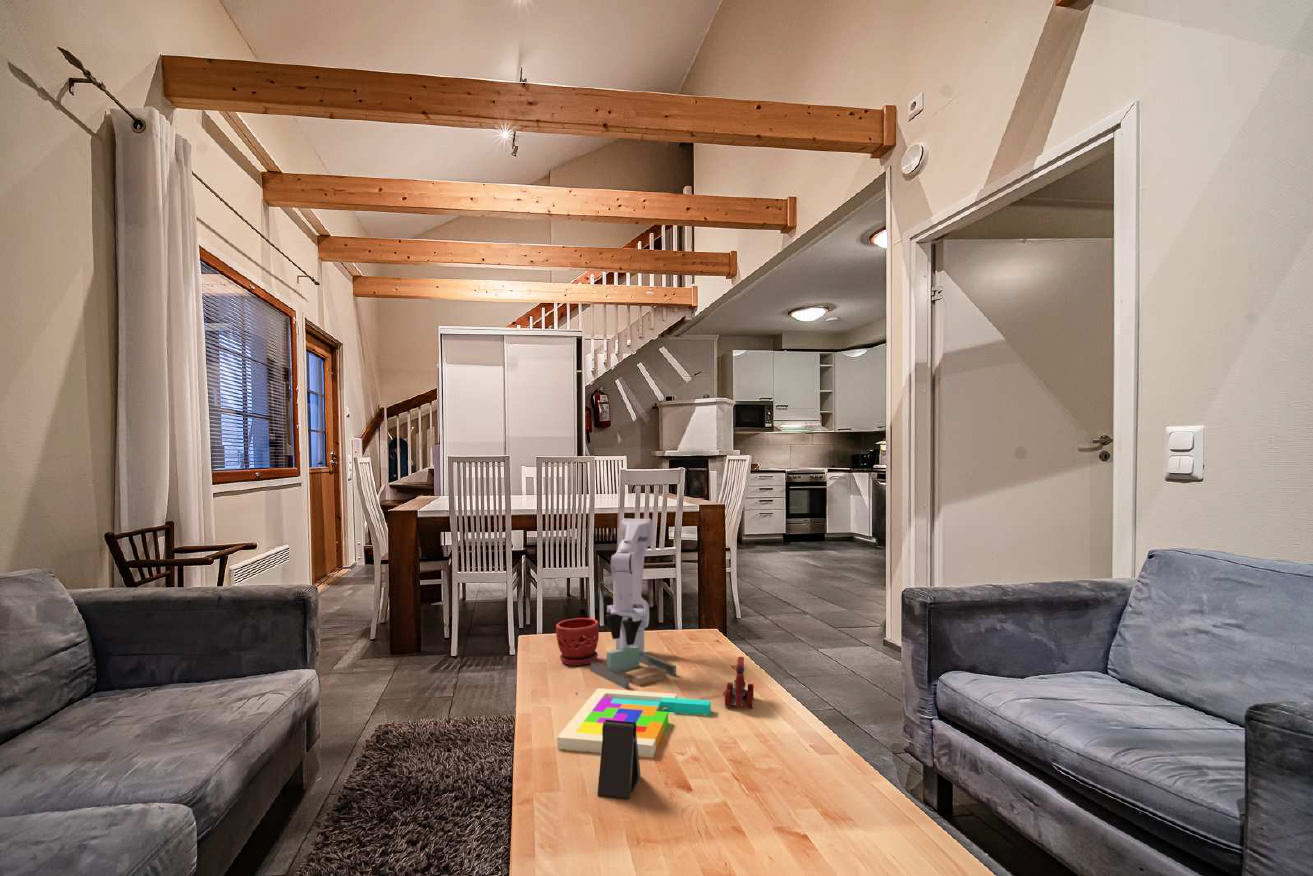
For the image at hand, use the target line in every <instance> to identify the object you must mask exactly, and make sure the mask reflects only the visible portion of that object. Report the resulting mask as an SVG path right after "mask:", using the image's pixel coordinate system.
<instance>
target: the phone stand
mask: <svg viewBox="0 0 1313 876" xmlns="http://www.w3.org/2000/svg"><path fill="white" fill-rule="evenodd" d="M605 721H606V722H604V723H603V728H602V750H601V753H600V761H599V762H600V763H599V771H598V772H599V773H598V785H597V797H598V796H599V797H606V798H614V797H615V798H616V799H623V798H625V799H624V800H630V798H631V796H630V795H632V794H633V792H634V790H635V788H636V786H637V784H638V782H639V780H640V778H641V776H642V775H641V766H640V756H639V755H638V746H637V736H636V729H637V727H636V722H626V721H615V720H605ZM634 787H635V788H634ZM631 793H632V794H631ZM629 797H630V798H629Z"/></svg>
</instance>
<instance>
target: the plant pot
mask: <svg viewBox="0 0 1313 876" xmlns="http://www.w3.org/2000/svg"><path fill="white" fill-rule="evenodd" d="M599 626H600V625H599V621H598V620H597V619H593V618H588V617H579V618H577V617H575V618H571V619H565V620H562V621H559V622H558V623H557V624H556V626H555V630H556V631H555V632H556V635H555V636H556V641H557V646H558V649H559V652H560V653H561V654H560V656H559V659H560V661H561V662H562V663H564V664H565V665H569V666H575V667H577V666H584V665H588V664H591V662H592V661H595V662H596V660H597V659H598V655H599V652H597V651H596V650H597V647H598V643H599V635H600V634H599V633H600V631H599V630H600V627H599Z"/></svg>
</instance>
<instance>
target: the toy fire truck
mask: <svg viewBox="0 0 1313 876" xmlns="http://www.w3.org/2000/svg"><path fill="white" fill-rule="evenodd" d="M744 660H745V658H744V656H737V664H736V669H735V671H736V675H735V680H734V681H733V682H727V683H726V689H725V691H724V707H726V708H731V707H732V705H735V707H743V703H745V707H747V708H746V709H753V701H754V700H755V699H754V693H755V692H754V691H755V689H754V688H755V687H754V684H753V683H748V684H746V681H745V677H746V676H745V675H744V674H745V666H744V665H745V664H744V663H745V661H744ZM746 686H747V689H745V688H746Z"/></svg>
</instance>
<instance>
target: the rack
mask: <svg viewBox="0 0 1313 876" xmlns="http://www.w3.org/2000/svg"><path fill="white" fill-rule="evenodd" d="M639 663H640V664H642V665H643V664H644V665H646V666H647V667H648V666H651V665H654V666H656V667H659V668H661V669H664V670H667V676H670V677H677V665H675V664H672V663H670V662H667V661H664V659H663V660H662V659H660V658H658V657H655V656H653V655H650V654H648V653H645V652H644V653H643V652H641V651H639ZM590 672H591V673H594V674H596V675H597V676H600V677H601V678H603V679H605V680H607V681H609V682H610V683H613V684H614V685H617V686H619V687H621V688H622V689H625V690H628V689H630V683H629V677H626V676H625V674H623V673H620V672H619V671H618V672H616V671H614V670H612V669H610V668H608V667H607V665H604V664H602V663H599V662H597V661H596V660H595V661H592V662H591V663H590Z"/></svg>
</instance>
